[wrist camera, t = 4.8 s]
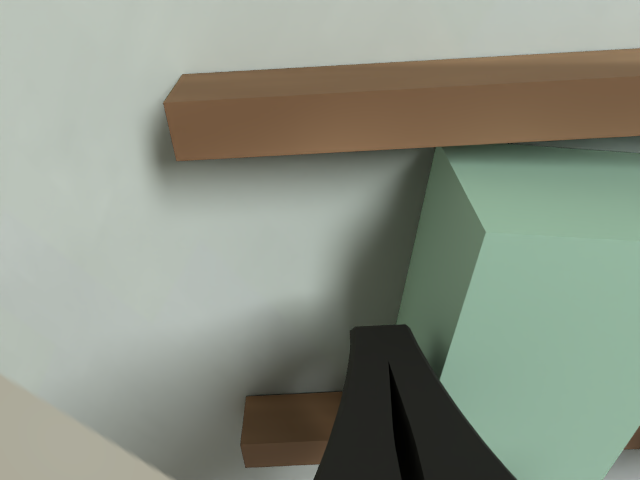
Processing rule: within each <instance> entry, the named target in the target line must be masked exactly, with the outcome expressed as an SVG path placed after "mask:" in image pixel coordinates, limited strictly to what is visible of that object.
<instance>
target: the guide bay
mask: <svg viewBox="0 0 640 480" xmlns="http://www.w3.org/2000/svg"><path fill="white" fill-rule="evenodd" d="M163 104H164V108H165V113H166V117H167V122H168V126H169V130H170V135H171V139H172V144H173V148H174V153H175V157H176V161H188V160H206V159H224V158H243V157H261V156H279V155H297V154H316V153H334V152H352V151H370V150H389V149H407V148H425V147H443V146H462V145H480V144H498V143H516V142H535V141H553V140H571V139H589V138H608V137H626V136H640V48H638V49H621V50H603V51H585V52H568V53H550V54H533V55H515V56H497V57H480V58H462V59H444V60H427V61H409V62H391V63H374V64H356V65H338V66H321V67H303V68H285V69H268V70H250V71H233V72H215V73H197V74H182V76H181V77H180V79H179V80H178V82H177V83H176V85H175V86H174V88H173V89H172V91H171V92H170V94H169V95H168V96H167V98H166V99H165V101H164V102H163ZM341 397H342V392H326V393H305V394H285V395H265V396H246V402H245V410H244V418H243V427H242V435H241V443H240V446H241V450H242V454H243V459H244V463H245V468H251V467H272V466H292V465H313V464H320V462H321V459H322V457H323V454H324V451H325V449H326V446H327V443H328V440H329V437H330V434H331V431H332V428H333V424H334V421H335V418H336V415H337V412H338V408H339V405H340V401H341ZM625 449H640V426H639V427H638V429H637V430H636V432H635V433H634V435H633V436H632V438H631V439H630V440H629V442H628V443H627V445H626V446H625V448H624V449H623V450H625Z"/></svg>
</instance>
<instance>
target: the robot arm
mask: <svg viewBox="0 0 640 480" xmlns="http://www.w3.org/2000/svg"><path fill="white" fill-rule="evenodd" d="M350 344H351V345H350V356H349V363H348V369H347V375H346V380H345V384H344V388H343V392H342V397H341V401H340V405H339V408H338V412H337V415H336V418H335V421H334V424H333V428H332V431H331V434H330V437H329V440H328V443H327V446H326V449H325V451H324V454H323V457H322V459H321V462H320V465H319V467H318V470H317V472H316V475H315V477H314V480H517V479H516V478H515V477H514V476H513V474H512V473H511V472H510V471H509V470H508V469H507V468H506V467H505V465H504V464H503V463H502V462H501V461H500V460H499V459H498V457H497V456H496V455H495V454H494V453H493V452H492V450H491V449H490V448H489V447H488V446H487V444H486V443H485V442H484V441H483V439H482V438H481V437H480V436H479V434H478V433H477V432H476V430H475V429H474V428H473V427H472V425H471V424H470V423H469V421H468V420H467V419H466V417H465V416H464V415H463V413H462V412H461V411H460V409H459V408H458V406H457V405H456V404H455V402H454V401H453V399H452V398H451V396H450V395H449V393H448V392H447V390H446V389H445V388H444V386H443V385H442V383H441V382H440V380H439V379H438V377H437V375H436V374H435V372H434V371H433V369H432V367H431V366H430V364H429V362H428V361H427V359H426V357H425V356H424V354H423V352H422V350H421V349H420V347H419V345H418V343H417V341H416V339H415V337H414V335H413V333H412V331H411V329H410V327H408V326H407V325H406V324H400V325H381V326H362V327H354V328H353V329H352V330H351V331H350Z"/></svg>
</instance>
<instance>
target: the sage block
mask: <svg viewBox="0 0 640 480" xmlns="http://www.w3.org/2000/svg"><path fill="white" fill-rule="evenodd" d="M400 324H406V325H407V326H408V327H410V329H411V331H412V333H413V335H414V337H415V339H416V341H417V343H418V345H419V347H420V349H421V350H422V352H423V354H424V356H425V357H426V359H427V361H428V362H429V364H430V366H431V367H432V369H433V371H434V372H435V374H436V375H437V377H438V379H439V380H440V382H441V383H442V385H443V386H444V388H445V389H446V390H447V392H448V393H449V395H450V396H451V398H452V399H453V401H454V402H455V404H456V405H457V406H458V408H459V409H460V411H461V412H462V413H463V415H464V416H465V417H466V419H467V420H468V421H469V423H470V424H471V425H472V427H473V428H474V429H475V430H476V432H477V433H478V434H479V436H480V437H481V438H482V439H483V441H484V442H485V443H486V444H487V446H488V447H489V448H490V449H491V450H492V452H493V453H494V454H495V455H496V456H497V457H498V459H499V460H500V461H501V462H502V463H503V464H504V465H505V467H506V468H507V469H508V470H509V471H510V472H511V473H512V474H513V476H514V477H515V478H516V479H517V480H603V479H604V477H605V476H606V474H607V473H608V471H609V470H610V468H611V467H612V465H613V464H614V462H615V461H616V460H617V458H618V457H619V455H620V454H621V452H622V451H623V449H624V448H625V446H626V445H627V443H628V442H629V440H630V439H631V438H632V436H633V435H634V433H635V432H636V430H637V429H638V427H639V426H640V153H628V152H614V151H600V150H585V149H571V148H557V147H543V146H529V145H515V144H500V143H498V144H480V145H462V146H443V147H436V148H435V153H434V157H433V162H432V166H431V171H430V175H429V180H428V184H427V188H426V193H425V197H424V202H423V206H422V211H421V215H420V220H419V224H418V229H417V233H416V238H415V242H414V246H413V251H412V255H411V260H410V264H409V269H408V273H407V278H406V282H405V287H404V291H403V296H402V300H401V305H400V309H399V313H398V318H397V322H396V325H400Z"/></svg>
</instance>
